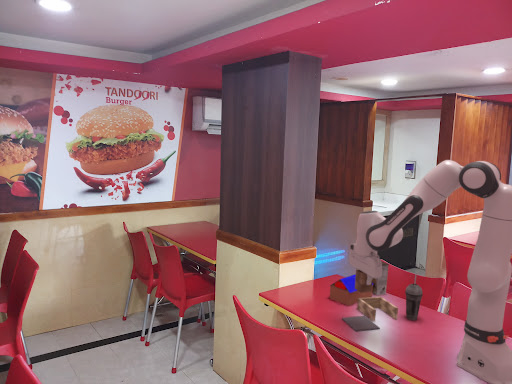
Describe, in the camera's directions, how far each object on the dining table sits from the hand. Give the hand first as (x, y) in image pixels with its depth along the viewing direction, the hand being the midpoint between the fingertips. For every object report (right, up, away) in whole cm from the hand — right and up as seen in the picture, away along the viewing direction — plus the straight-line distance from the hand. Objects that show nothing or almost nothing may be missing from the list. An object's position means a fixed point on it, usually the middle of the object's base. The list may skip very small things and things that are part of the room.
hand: (363, 281), depth 173 cm
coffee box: (+17, -14, +42) cm, 47 cm away
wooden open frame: (+9, -17, +14) cm, 24 cm away
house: (+2, -15, +32) cm, 36 cm away
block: (0, -4, 0) cm, 4 cm away
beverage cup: (+24, -19, +11) cm, 32 cm away
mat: (-1, -18, +2) cm, 19 cm away
